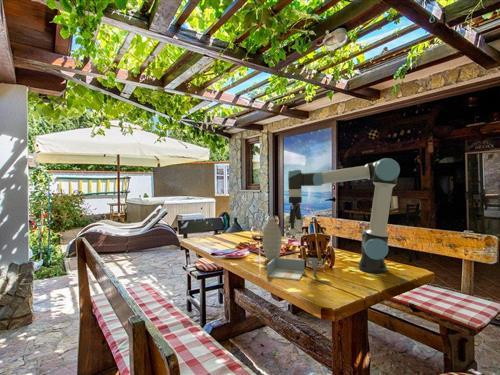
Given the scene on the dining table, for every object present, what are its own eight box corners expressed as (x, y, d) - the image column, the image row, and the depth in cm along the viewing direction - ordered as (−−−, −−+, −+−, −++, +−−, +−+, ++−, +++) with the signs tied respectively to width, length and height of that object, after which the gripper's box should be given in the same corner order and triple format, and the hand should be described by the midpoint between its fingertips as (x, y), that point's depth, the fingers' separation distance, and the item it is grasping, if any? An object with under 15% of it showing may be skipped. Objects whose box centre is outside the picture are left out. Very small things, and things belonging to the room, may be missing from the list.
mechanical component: (324, 277, 162) (324, 259, 162) (305, 276, 164) (305, 258, 164) (324, 275, 165) (324, 258, 165) (305, 275, 167) (305, 257, 167)
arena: (304, 271, 173) (304, 259, 172) (299, 280, 159) (298, 267, 159) (274, 268, 179) (274, 257, 179) (267, 276, 165) (266, 264, 165)
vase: (277, 256, 207) (276, 216, 206) (285, 261, 195) (284, 218, 194) (260, 258, 203) (259, 217, 202) (267, 263, 191) (266, 219, 190)
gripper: (294, 194, 186) (294, 228, 187) (282, 197, 163) (283, 236, 164) (305, 194, 183) (306, 229, 184) (296, 197, 160) (297, 236, 161)
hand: (295, 232), depth 174 cm, fingers open, 13 cm apart
